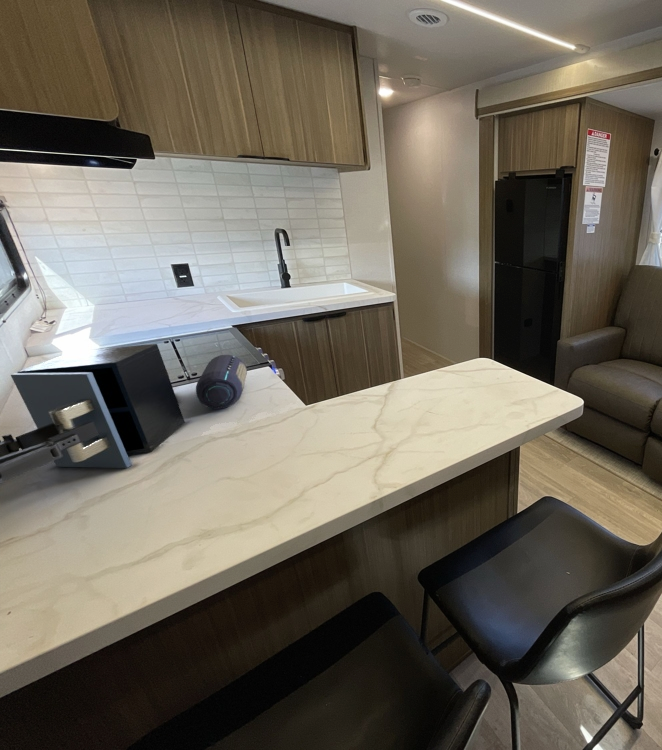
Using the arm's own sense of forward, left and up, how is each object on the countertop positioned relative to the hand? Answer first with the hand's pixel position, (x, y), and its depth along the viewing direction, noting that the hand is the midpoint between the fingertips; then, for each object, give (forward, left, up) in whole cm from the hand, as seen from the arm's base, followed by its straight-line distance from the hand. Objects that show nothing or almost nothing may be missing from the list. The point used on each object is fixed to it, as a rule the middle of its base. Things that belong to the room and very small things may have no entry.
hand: (79, 427), depth 74 cm
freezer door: (-4, 0, -10) cm, 11 cm away
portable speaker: (+9, +36, -10) cm, 39 cm away
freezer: (-3, +13, -10) cm, 17 cm away
